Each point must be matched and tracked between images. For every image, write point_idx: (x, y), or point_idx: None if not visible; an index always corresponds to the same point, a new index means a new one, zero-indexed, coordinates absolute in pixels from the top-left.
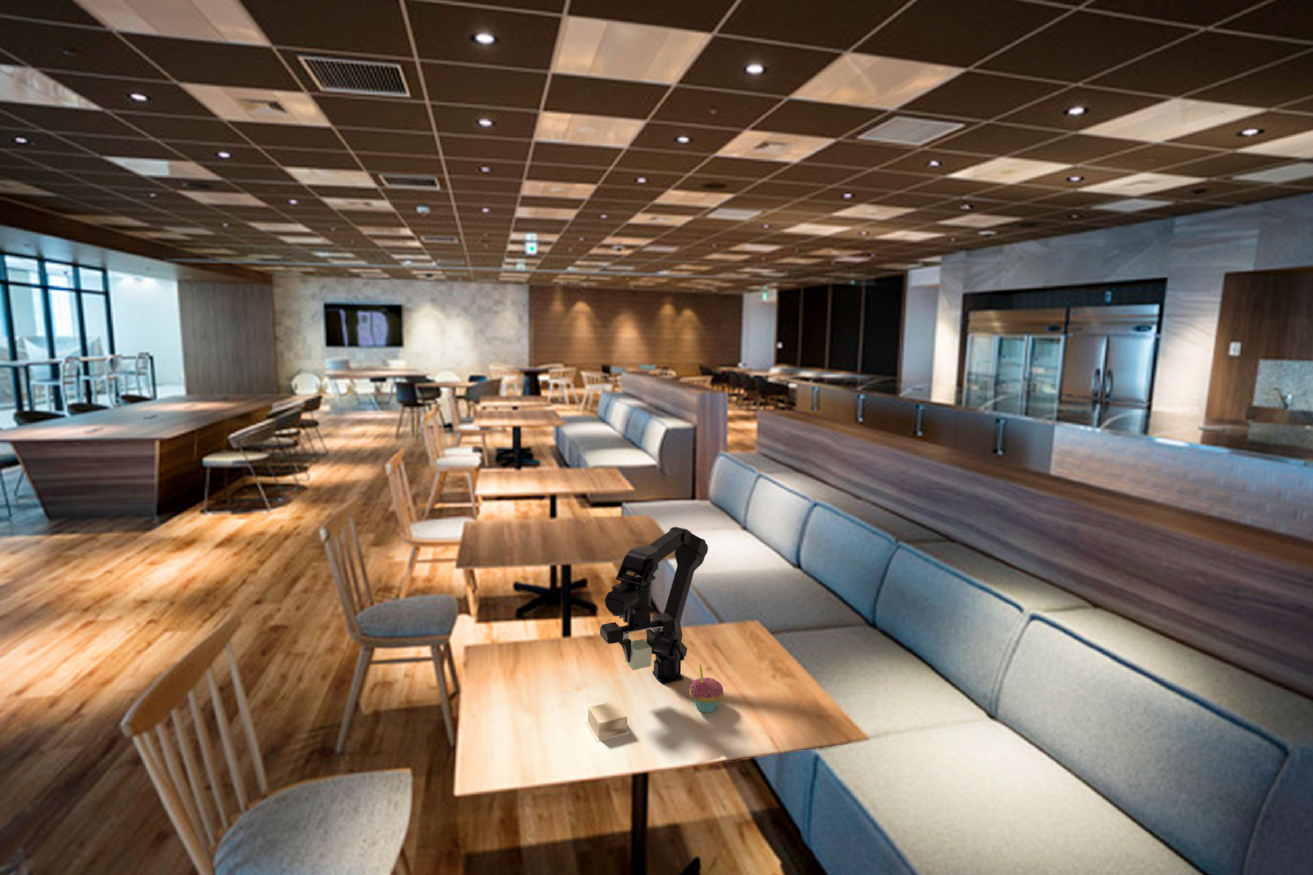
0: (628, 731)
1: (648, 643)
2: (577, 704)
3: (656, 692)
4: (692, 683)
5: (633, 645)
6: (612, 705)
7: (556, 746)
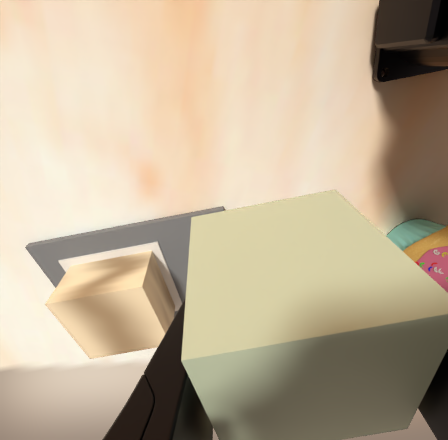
0: (179, 304)
1: (436, 374)
2: (14, 152)
3: (320, 136)
4: (433, 269)
5: (263, 408)
6: (129, 304)
7: (4, 313)
